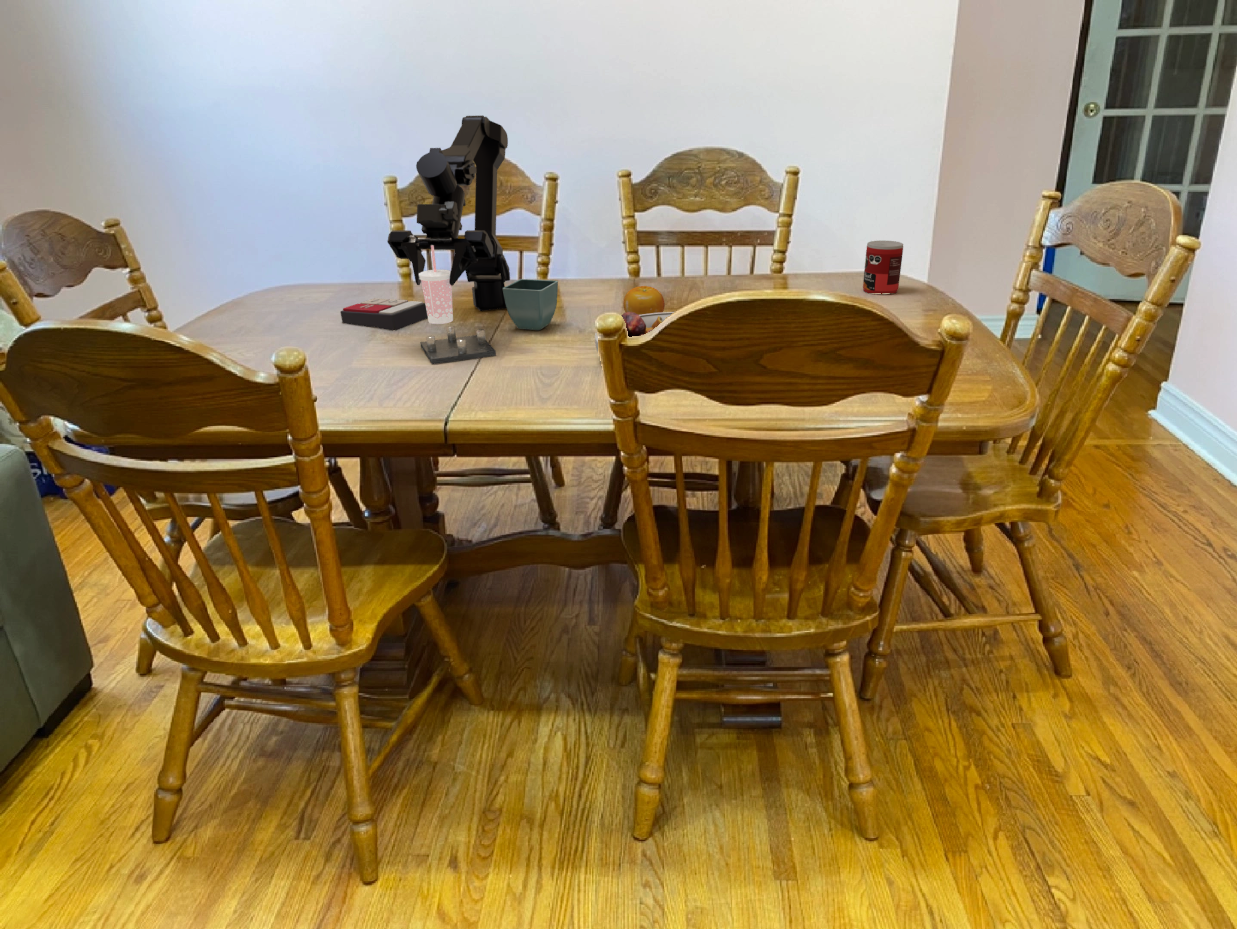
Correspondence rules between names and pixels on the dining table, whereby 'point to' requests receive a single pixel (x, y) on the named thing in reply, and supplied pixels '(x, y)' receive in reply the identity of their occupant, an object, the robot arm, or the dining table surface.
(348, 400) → the dining table surface
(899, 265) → the canned food
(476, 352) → the chassis plate
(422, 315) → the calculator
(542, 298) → the flower pot
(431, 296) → the beverage cup
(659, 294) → the fruit
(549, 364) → the dining table surface
